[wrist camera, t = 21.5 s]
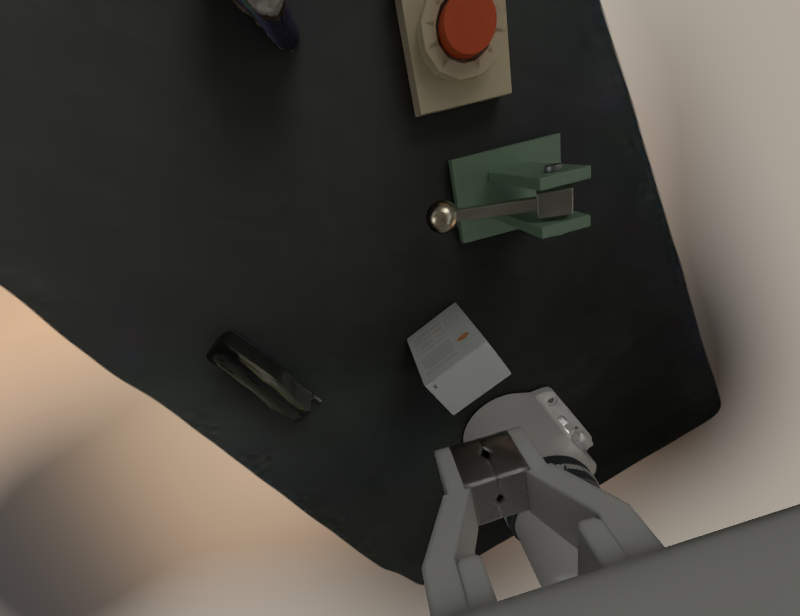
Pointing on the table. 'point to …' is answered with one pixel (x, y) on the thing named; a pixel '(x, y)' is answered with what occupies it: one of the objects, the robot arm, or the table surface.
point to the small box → (455, 359)
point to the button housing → (450, 60)
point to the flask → (273, 20)
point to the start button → (467, 27)
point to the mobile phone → (261, 375)
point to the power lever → (501, 208)
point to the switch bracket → (515, 187)
